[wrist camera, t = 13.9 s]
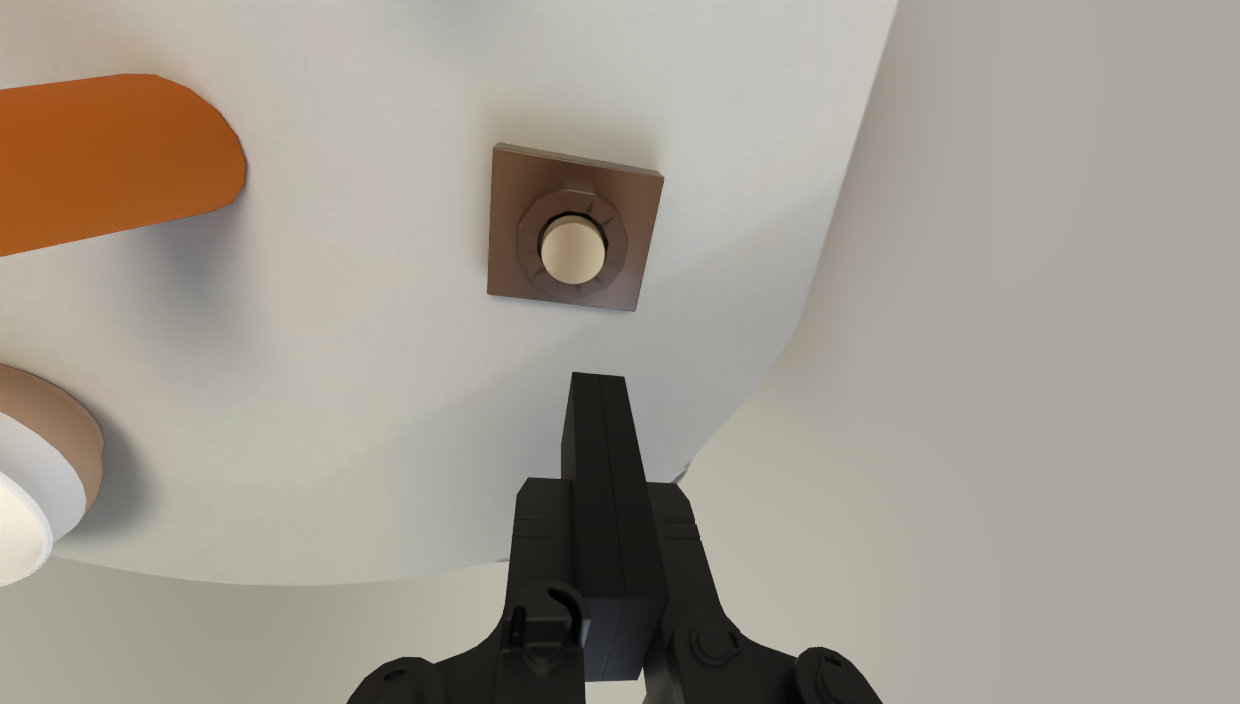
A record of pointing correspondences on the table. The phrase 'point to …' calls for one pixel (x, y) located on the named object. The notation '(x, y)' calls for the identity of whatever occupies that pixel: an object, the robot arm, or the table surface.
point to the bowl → (42, 469)
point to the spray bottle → (109, 159)
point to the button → (572, 249)
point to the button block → (562, 186)
